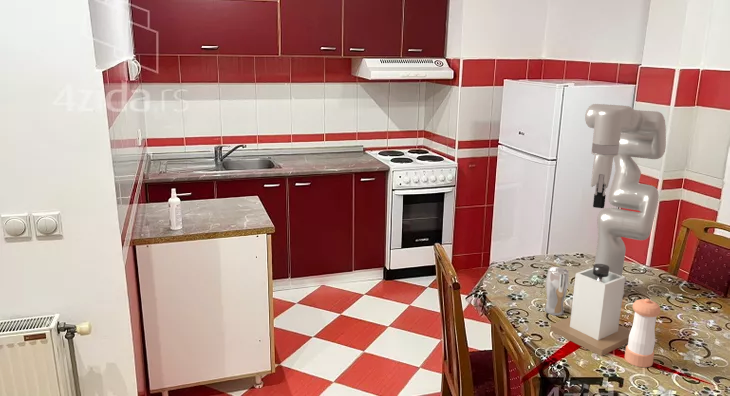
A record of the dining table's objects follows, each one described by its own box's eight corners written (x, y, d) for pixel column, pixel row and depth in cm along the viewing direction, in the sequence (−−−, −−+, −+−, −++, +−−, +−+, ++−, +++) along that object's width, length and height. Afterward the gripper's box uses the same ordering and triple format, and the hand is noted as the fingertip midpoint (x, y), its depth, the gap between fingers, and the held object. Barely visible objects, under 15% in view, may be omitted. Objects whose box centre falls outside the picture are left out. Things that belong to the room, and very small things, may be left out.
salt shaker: (619, 354, 162) (628, 294, 157) (643, 353, 162) (652, 293, 157) (633, 368, 155) (642, 305, 150) (658, 366, 155) (668, 304, 150)
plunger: (590, 318, 177) (597, 260, 172) (612, 328, 171) (620, 267, 166) (575, 324, 173) (582, 265, 168) (597, 334, 167) (605, 273, 161)
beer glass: (566, 317, 184) (570, 275, 180) (544, 314, 185) (548, 273, 181) (563, 307, 190) (567, 267, 187) (542, 305, 192) (546, 265, 188)
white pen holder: (585, 316, 185) (592, 260, 179) (636, 339, 170) (645, 278, 165) (550, 330, 175) (556, 271, 170) (601, 356, 161) (609, 292, 155)
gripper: (593, 144, 176) (587, 199, 181) (590, 153, 163) (583, 212, 168) (619, 145, 173) (612, 202, 178) (617, 155, 160) (610, 215, 165)
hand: (598, 207), depth 173 cm, fingers closed
